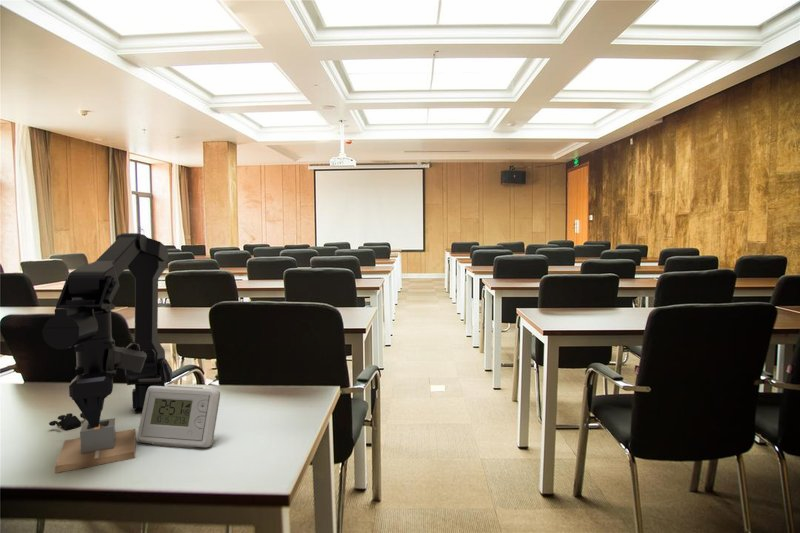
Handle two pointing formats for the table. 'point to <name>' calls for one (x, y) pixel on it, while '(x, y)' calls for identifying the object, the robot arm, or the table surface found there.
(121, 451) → the wooden base plate
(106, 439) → the square gray frame
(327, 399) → the table surface
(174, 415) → the digital clock
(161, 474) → the table surface
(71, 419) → the wireless earbuds
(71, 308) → the robot arm
